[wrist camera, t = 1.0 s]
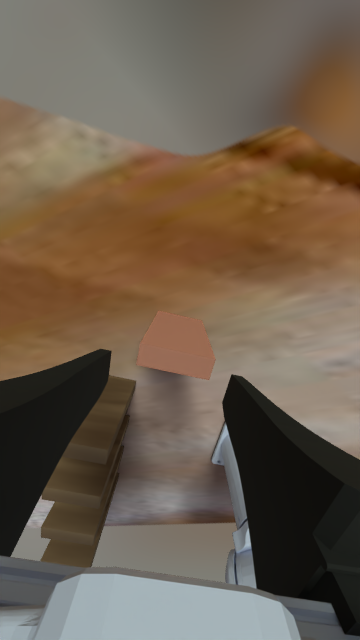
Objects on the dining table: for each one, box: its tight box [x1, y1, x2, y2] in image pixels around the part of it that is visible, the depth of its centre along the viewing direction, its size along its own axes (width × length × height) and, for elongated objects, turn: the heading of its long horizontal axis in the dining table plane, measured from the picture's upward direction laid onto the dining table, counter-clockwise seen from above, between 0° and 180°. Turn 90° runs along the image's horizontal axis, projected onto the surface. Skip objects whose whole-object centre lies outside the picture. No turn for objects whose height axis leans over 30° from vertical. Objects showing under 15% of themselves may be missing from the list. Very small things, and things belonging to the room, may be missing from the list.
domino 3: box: [41, 446, 124, 546], centre depth 22 cm, size 2×5×9 cm, turn 77°
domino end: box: [41, 473, 119, 568], centre depth 23 cm, size 2×5×9 cm, turn 77°
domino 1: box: [62, 375, 136, 465], centre depth 19 cm, size 2×5×9 cm, turn 77°
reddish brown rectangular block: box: [136, 311, 216, 380], centre depth 16 cm, size 2×5×9 cm, turn 77°
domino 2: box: [42, 415, 129, 509], centre depth 20 cm, size 2×5×9 cm, turn 77°
